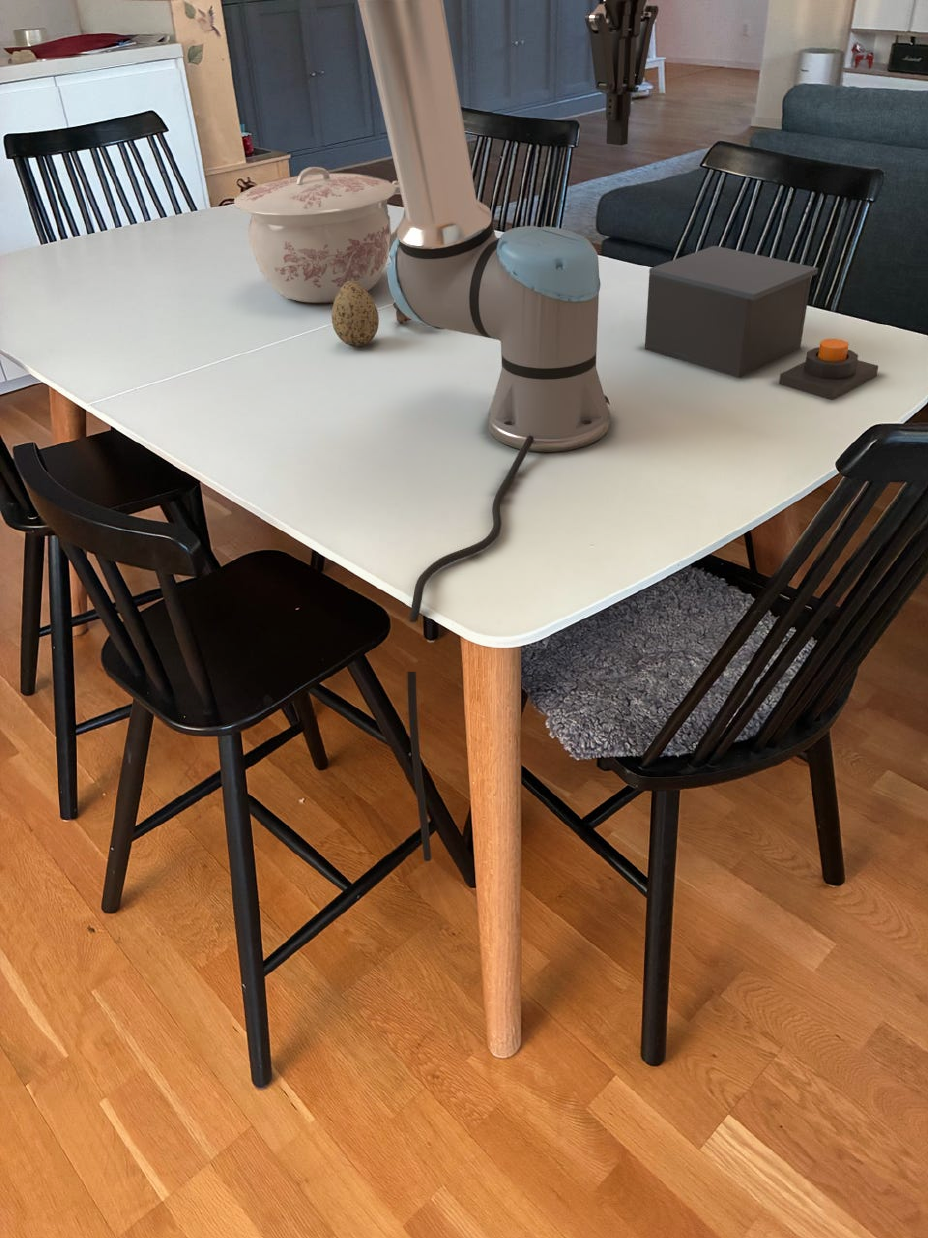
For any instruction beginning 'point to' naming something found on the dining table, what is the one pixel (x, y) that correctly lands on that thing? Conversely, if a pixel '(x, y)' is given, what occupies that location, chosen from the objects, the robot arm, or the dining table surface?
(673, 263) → the dark grey box lid
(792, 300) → the dark grey box
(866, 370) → the control block
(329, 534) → the dining table surface
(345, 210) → the chamber pot
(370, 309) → the decorative egg
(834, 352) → the button
